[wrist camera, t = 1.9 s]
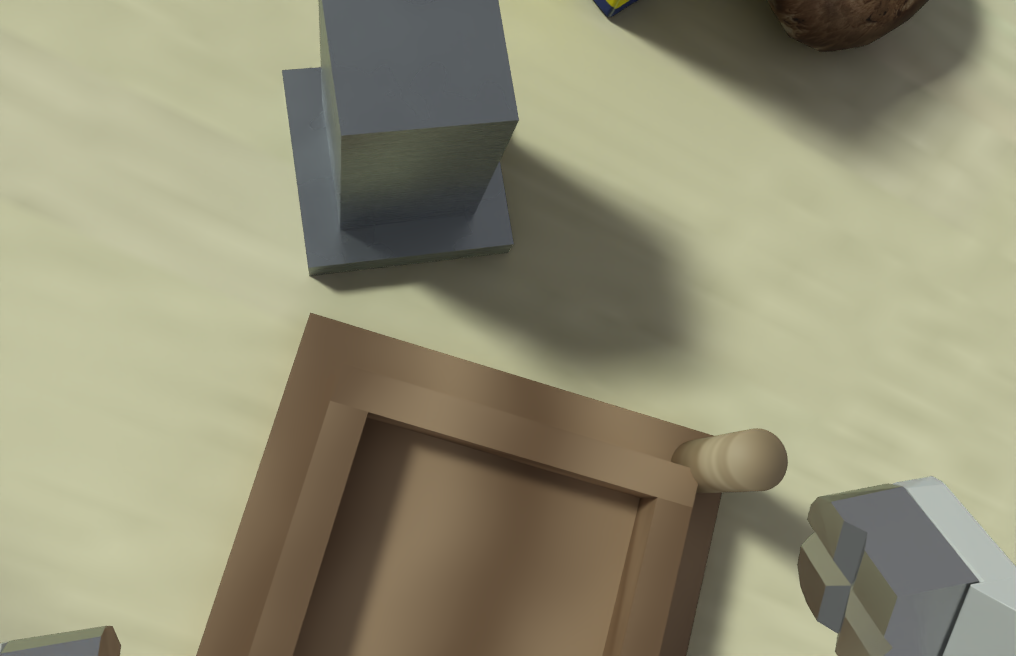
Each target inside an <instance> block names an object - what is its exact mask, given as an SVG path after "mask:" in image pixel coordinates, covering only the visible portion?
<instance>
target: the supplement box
mask: <svg viewBox="0 0 1016 656" xmlns="http://www.w3.org/2000/svg"><path fill="white" fill-rule="evenodd" d="M594 1H595V3H596V4H597V5H598V7H599V8H600V9H601V10H602V11H603V12H604V14H605V15H606V16H607V17H612V16H614V15H615V14H617V13H618V12H620V11H621V10H623V9H624V8H626V7H627V6H629V5H631V4H632V3H634V2H636V1H638V0H594Z"/></svg>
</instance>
